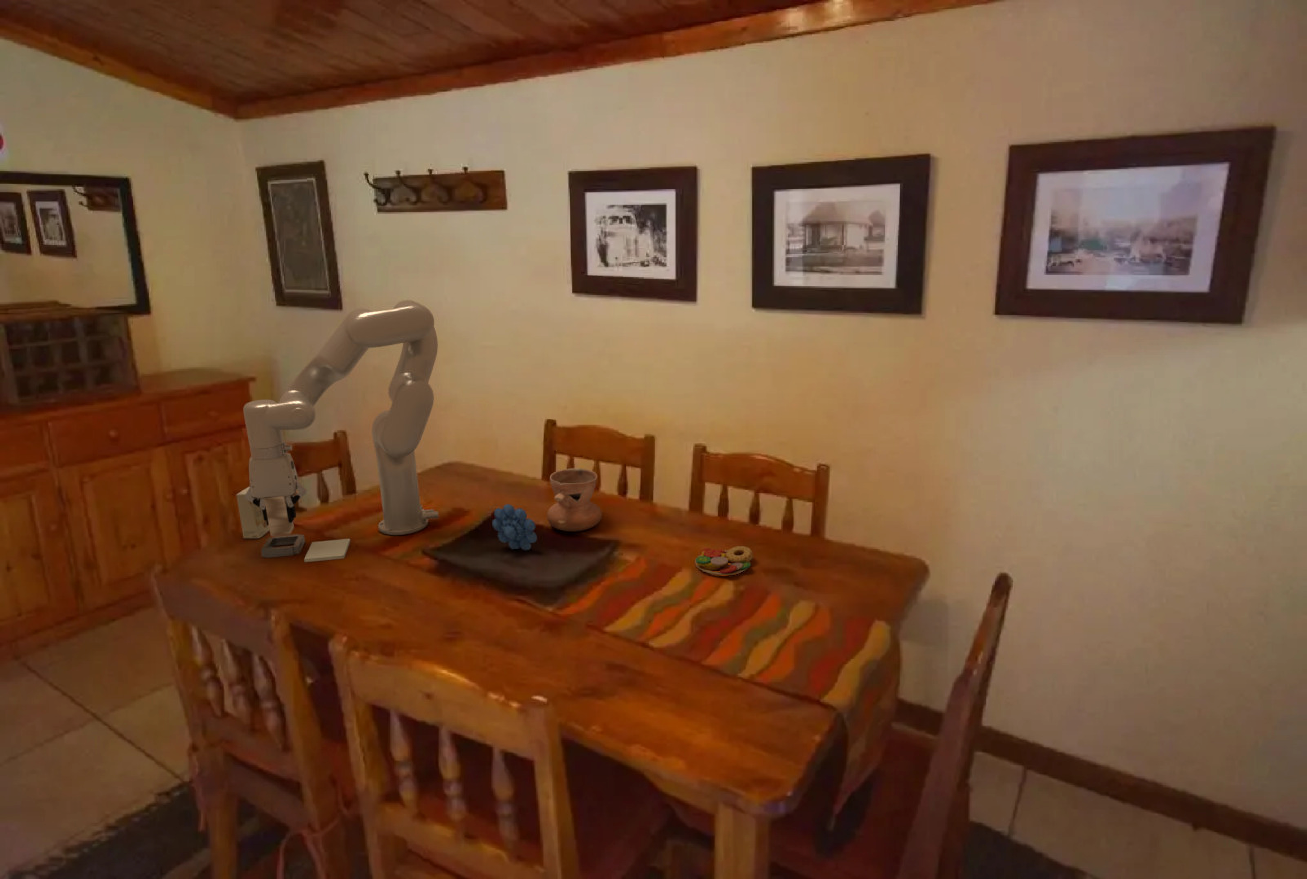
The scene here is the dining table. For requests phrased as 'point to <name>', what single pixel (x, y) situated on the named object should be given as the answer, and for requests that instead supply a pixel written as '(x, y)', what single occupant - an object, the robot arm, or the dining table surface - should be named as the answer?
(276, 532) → the square peg
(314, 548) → the coaster
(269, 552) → the frame
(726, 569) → the toy food set
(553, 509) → the ceramic jug
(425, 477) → the dining table surface
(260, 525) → the skincare box
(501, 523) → the blue flower
